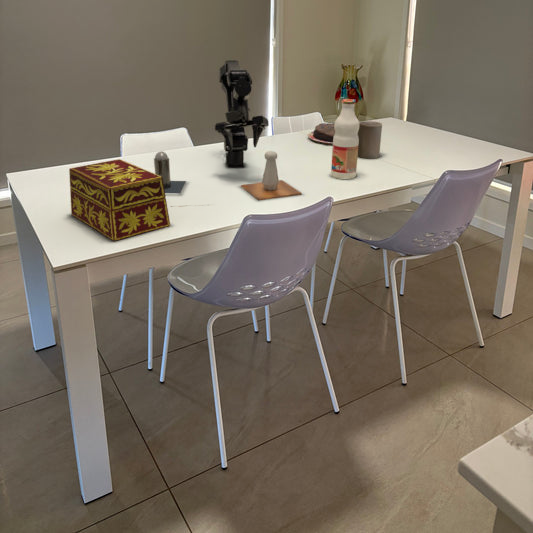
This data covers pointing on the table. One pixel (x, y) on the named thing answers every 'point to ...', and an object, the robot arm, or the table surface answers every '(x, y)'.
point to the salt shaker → (270, 171)
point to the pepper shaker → (163, 168)
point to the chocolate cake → (323, 133)
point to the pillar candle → (369, 139)
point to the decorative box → (118, 198)
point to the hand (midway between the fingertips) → (242, 149)
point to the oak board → (262, 194)
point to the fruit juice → (345, 142)
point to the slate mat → (175, 187)
